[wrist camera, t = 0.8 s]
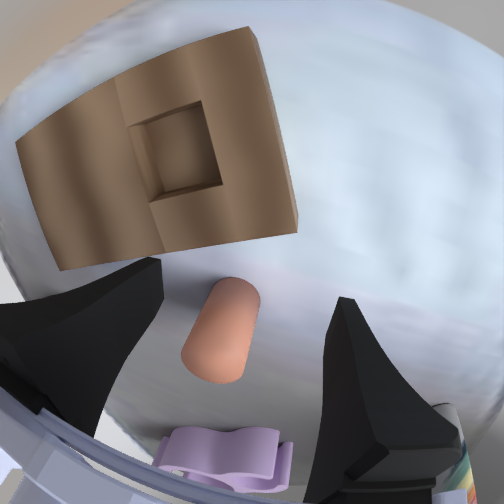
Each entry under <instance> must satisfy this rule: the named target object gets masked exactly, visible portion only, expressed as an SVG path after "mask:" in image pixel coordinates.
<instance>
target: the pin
mask: <svg viewBox="0 0 504 504" xmlns="http://www.w3.org/2000/svg"><path fill="white" fill-rule="evenodd" d="M259 307H260V296H259V293H258V291H257V290H256V288H255V287H254V286H253V285H252V284H250V283H249V282H247V281H245V280H243V279H240V278H234V277H229V278H224V279H221V280H219V281H218V282H217V283H216V284H215V285H214V286H213V288H212V290H211V292H210V294H209V296H208V298H207V300H206V302H205V304H204V306H203V308H202V310H201V312H200V314H199V316H198V318H197V320H196V322H195V324H194V326H193V328H192V330H191V332H190V334H189V336H188V338H187V340H186V342H185V344H184V346H183V348H182V351H181V358H182V361H183V363H184V365H185V366H186V368H187V369H188V370H189V371H190V372H191V373H193V374H194V375H196V376H197V377H199V378H201V379H203V380H206V381H209V382H213V383H230V382H233V381H236V380H237V379H239V378H240V377H241V376H242V374H243V371H244V368H245V364H246V360H247V356H248V352H249V347H250V343H251V339H252V335H253V331H254V327H255V323H256V319H257V315H258V311H259Z"/></svg>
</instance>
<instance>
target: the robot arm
mask: <svg viewBox="0 0 504 504" xmlns="http://www.w3.org/2000/svg"><path fill="white" fill-rule="evenodd" d="M163 300H164V291H163V280H162V268H161V259H157V258H152V257H146V258H143V259H141V260H139V261H136V262H134V263H132V264H130V265H128V266H126V267H124V268H122V269H120V270H117V271H115V272H113V273H111V274H109V275H107V276H105V277H102V278H100V279H98V280H96V281H93V282H91V283H89V284H87V285H84V286H82V287H79V288H76V289H73V290H70V291H67V292H64V293H61V294H57V295H53V296H50V297H45V298H42V299H37V300H32V301H26V302H18V303H7V304H0V485H1V484H2V482H3V481H4V479H5V478H6V476H7V475H8V473H9V472H10V471H11V469H22V471H23V473H24V475H25V476H24V478H23V479H22V481H21V483H20V484H19V486H18V488H17V490H16V491H15V493H14V495H13V497H12V498H11V500H10V502H9V504H171V503H168V502H166V501H163V500H160V499H158V498H156V497H153V496H151V495H149V494H146V493H144V492H142V491H140V490H137V489H135V488H133V487H131V486H129V485H126V484H124V483H122V482H120V481H118V480H116V479H114V478H112V477H110V476H108V475H106V474H104V473H102V472H100V471H98V470H96V469H94V468H93V467H92V466H91V465H90V464H88V463H87V462H86V461H85V460H84V458H83V457H82V456H81V455H80V454H78V453H76V452H75V451H74V450H76V451H78V452H79V453H81V454H83V455H84V456H86V457H88V458H90V459H91V460H93V461H95V462H97V463H99V464H101V465H102V466H104V467H106V468H108V469H110V470H112V471H114V472H117V473H118V474H120V475H123V476H125V477H127V478H129V479H131V480H133V481H136V482H138V483H140V484H143V485H145V486H147V487H150V488H152V489H155V490H158V491H160V492H163V493H165V494H168V495H171V496H174V497H176V498H179V499H182V500H185V501H188V502H192V503H195V504H467V491H466V489H465V488H463V489H458V490H453V491H448V492H442V493H438V494H435V495H432V488H434V487H435V486H436V476H438V475H440V474H441V473H443V472H444V471H446V470H447V469H449V468H450V467H452V466H453V465H454V464H455V463H456V462H458V460H459V459H460V458H461V456H462V445H461V439H460V434H459V430H458V428H457V427H456V426H455V425H453V424H452V423H451V422H449V421H448V420H447V419H446V418H444V417H443V416H442V415H440V414H439V413H438V412H437V411H436V410H434V409H433V408H432V407H431V406H430V405H429V404H428V403H427V402H426V401H425V400H424V399H423V398H422V397H421V396H420V395H419V394H418V393H417V392H416V391H415V390H414V389H413V388H412V387H411V386H410V385H409V384H408V383H407V381H406V380H405V379H404V378H403V377H402V375H401V374H400V373H399V372H398V370H397V369H396V368H395V366H394V365H393V364H392V362H391V361H390V360H389V358H388V357H387V355H386V354H385V352H384V351H383V349H382V348H381V346H380V345H379V343H378V341H377V340H376V338H375V336H374V334H373V333H372V331H371V329H370V327H369V326H368V324H367V322H366V320H365V318H364V316H363V314H362V312H361V311H360V309H359V307H358V305H357V303H356V301H355V300H354V299H350V298H345V297H339V298H338V301H337V304H336V307H335V310H334V313H333V316H332V319H331V322H330V325H329V327H328V330H327V333H326V338H325V346H324V355H323V406H322V417H321V424H320V430H319V436H318V442H317V447H316V452H315V457H314V461H313V466H312V470H311V474H310V478H309V482H308V486H307V490H306V493H305V497H304V500H303V503H299V502H291V501H283V500H276V499H270V498H264V497H259V496H253V495H248V494H243V493H239V492H235V491H230V490H226V489H222V488H218V487H215V486H211V485H207V484H204V483H200V482H197V481H194V480H191V479H188V478H185V477H181V476H178V475H176V474H173V473H170V472H167V471H165V470H162V469H159V468H157V467H154V466H152V465H149V464H147V463H144V462H142V461H140V460H137V459H135V458H133V457H130V456H128V455H126V454H124V453H122V452H119V451H117V450H115V449H113V448H111V447H109V446H107V445H105V444H103V443H101V442H100V441H98V440H96V439H94V435H95V431H96V428H97V425H98V422H99V419H100V416H101V413H102V410H103V408H104V405H105V403H106V400H107V398H108V395H109V393H110V391H111V388H112V386H113V384H114V382H115V380H116V378H117V376H118V374H119V372H120V370H121V368H122V366H123V364H124V362H125V360H126V359H127V357H128V355H129V354H130V352H131V351H132V350H133V348H134V347H135V345H136V344H137V342H138V341H139V339H140V338H141V337H142V335H143V334H144V332H145V331H146V329H147V328H148V326H149V325H150V324H151V322H152V321H153V319H154V318H155V316H156V314H157V312H158V310H159V308H160V306H161V304H162V302H163ZM70 447H71V448H73V449H74V450H73V449H71V448H70Z"/></svg>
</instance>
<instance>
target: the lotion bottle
mask: <svg viewBox="0 0 504 504" xmlns="http://www.w3.org/2000/svg"><path fill="white" fill-rule="evenodd" d="M432 408H433V409H434V410H436V411H437V412H438V413H439V414H440V415H442V416H443V417H444V418H446V419H447V420H448V421H449V422H451V423H452V424H453V425H455V426H456V427H457V428H458V430H459V434H460V439H461V445H462V456H461V458H460V459H459V460H458V462H456V463H455V464H454V465H453V466H452V467H450V468H449V469H447V470H446V471H444V472H443V473H441V474H440V475H438V476H436V486H435V487H434V488H432V495H435V494H438V493H442V492H448V491H453V490H458V489H463V488H465V489H466V491H467V504H477V500H476V494H475V487H474V482H473V477H472V471H471V467H470V462H469V457H468V453H467V449H466V444H465V440H464V437H463V433H462V429H461V426H460V422H459V419H458V415H457V412H456V410H455V407H454V406H453V405H451V404H441V405H437V406H435V407H432Z"/></svg>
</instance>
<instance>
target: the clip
mask: <svg viewBox="0 0 504 504" xmlns="http://www.w3.org/2000/svg"><path fill="white" fill-rule="evenodd" d="M279 433H280V432H279V431H278V430H274V429H270V428H263V427H246V428H241V429H238V430H236V431H233V432H220V431H215V430H211V429H207V428H201V427H190V426H187V427H179V428H176V429H175V430H173V432H172V434H171V436H170V438H169V437H165V436H163V438H162V441H161V443H160V446H159V448H158V450H157V453H156V455H155V458H154V461H153V463H152V466H154V467H157V468H159V469H162V470H165V471H167V472H170V473H172V470H182V471H185V472H184V475H183V477H185V478H188V479H191V480H194V481H197V482H200V483H204V484H207V485H211V486H215V487H218V488H222V489H226V490H230V491H235V492H239V493H243V494H244V493H247V492H264V493H265V492H266V493H270V492H279V491H283V490H285V489H287V488H288V484H289V476H290V468H291V459H292V450H293V443H292V442H283V444H282V446H280V447H279V448H277V447H278V440H279Z"/></svg>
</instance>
